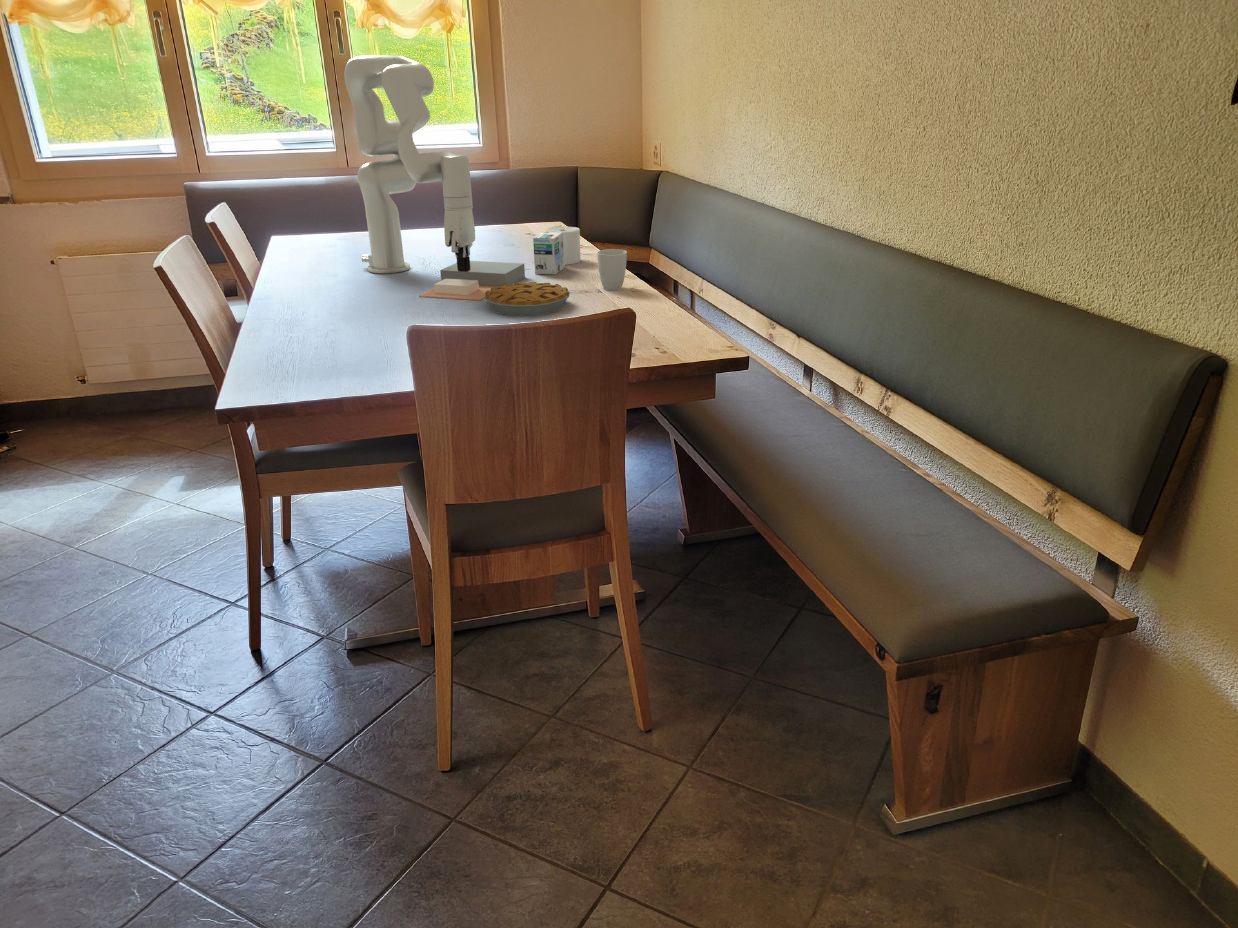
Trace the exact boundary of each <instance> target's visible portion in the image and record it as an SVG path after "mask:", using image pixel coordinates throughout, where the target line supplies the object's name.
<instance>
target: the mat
mask: <svg viewBox="0 0 1238 928" xmlns="http://www.w3.org/2000/svg"><path fill="white" fill-rule="evenodd" d="M494 287H497V286H480V285H479V289H478V290H476V291H474V292H473V293H471V294H469V295H460V294H444V293H435V291H434V288H432V289H430V290H428V291H426V292H424V293H422V294H420V295H419V296H418V297H419V298H431V299H432V298H433V299H449V300H464V301H478V302H480V301H482V300H484V299H483V298H484V297H485V293H486V291H487V290H489V291H491V288H494Z"/></svg>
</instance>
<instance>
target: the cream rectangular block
mask: <svg viewBox="0 0 1238 928" xmlns="http://www.w3.org/2000/svg"><path fill="white" fill-rule="evenodd" d="M433 289H434V291H435V293H444V294H460V295H469V294H471V293H473V292H474V291H476V290H478V289H479V284H478V280H461V279H444V280H442V281H441V280H440V281H438V282H435V283H434V284H433Z"/></svg>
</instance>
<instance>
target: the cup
mask: <svg viewBox="0 0 1238 928" xmlns="http://www.w3.org/2000/svg"><path fill="white" fill-rule="evenodd" d="M596 255H597V256H596V257H597V268H598V273H599V274H598V275H599V278H600V281H601V285H602V288H603V290H604V291H619V290H622V288H623V285H624V282H625V277H626V270H627V269H626V268H627V255H628V254H627V250H625V249H619V248H618V249H615V248H613V249H612V248H610V249H602V250H598V251H597V252H596Z"/></svg>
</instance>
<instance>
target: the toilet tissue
mask: <svg viewBox="0 0 1238 928" xmlns="http://www.w3.org/2000/svg"><path fill="white" fill-rule="evenodd" d="M545 232H558V233H563V245H564V266H566V265H575V264H578V263H580V262H582V260H581V259H582V257H581V234H580V233H581V231H580V228H579V227H576V226H575V227H574V226H562V225H561V224H560V225H557V226H556V225H555V226H552V227H548V228H546V229H545Z"/></svg>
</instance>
